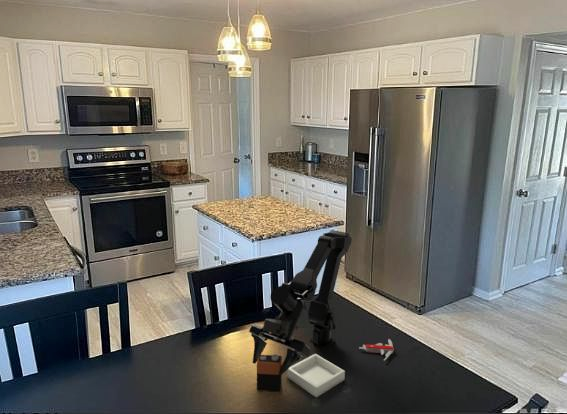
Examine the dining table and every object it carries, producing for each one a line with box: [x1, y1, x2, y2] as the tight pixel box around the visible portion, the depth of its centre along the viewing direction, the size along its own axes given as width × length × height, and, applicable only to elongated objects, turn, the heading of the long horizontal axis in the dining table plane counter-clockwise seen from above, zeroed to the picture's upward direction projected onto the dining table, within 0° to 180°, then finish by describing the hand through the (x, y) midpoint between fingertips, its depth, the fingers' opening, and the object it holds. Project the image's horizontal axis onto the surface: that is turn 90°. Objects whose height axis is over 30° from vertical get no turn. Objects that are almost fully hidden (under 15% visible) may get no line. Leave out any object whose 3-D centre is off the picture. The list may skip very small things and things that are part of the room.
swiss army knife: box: [358, 338, 395, 362], centre depth 138 cm, size 12×14×2 cm
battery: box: [256, 353, 283, 393], centre depth 118 cm, size 4×7×10 cm, turn 86°
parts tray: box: [286, 353, 346, 398], centre depth 123 cm, size 12×12×3 cm
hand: (266, 368), depth 117 cm, fingers open, 9 cm apart
